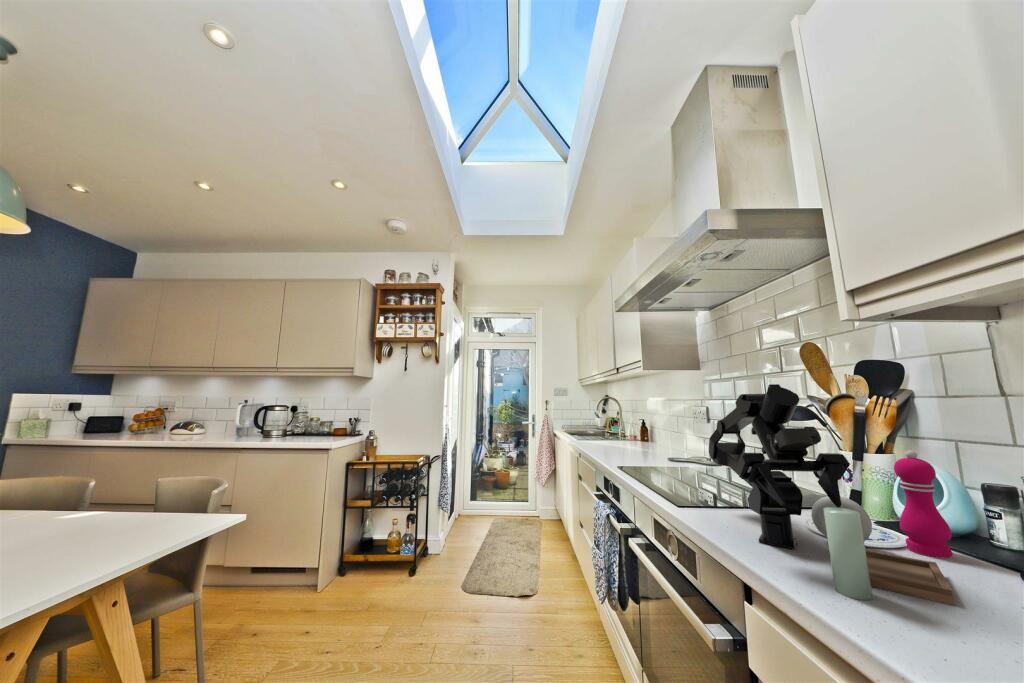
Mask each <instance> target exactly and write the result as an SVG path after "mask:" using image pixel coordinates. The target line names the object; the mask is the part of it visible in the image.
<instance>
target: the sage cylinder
mask: <svg viewBox="0 0 1024 683" xmlns="http://www.w3.org/2000/svg"><path fill="white" fill-rule="evenodd" d="M823 509H824V516H825V524H826V531H827V538H826V539H827V543H828V551H829V557H830V558H829V560H830V563H831V572H832V579H833V586H834V587H833V588H834V590H835V591H836V593H838V594H840V595H842V596H845V597H848V598H850V599H855V600H859V601H860V600H861V601H870V600H873V599H874V596H873V590H872V587H871V582H870V576H869V570H868V563H867V557H866V550H867V549H866V545H865V541H864V538H863V531H862V525H861V518H860V513H859V512H857V511H854V510H850V509H845V508H836V507H826V508H823Z"/></svg>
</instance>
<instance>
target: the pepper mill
mask: <svg viewBox="0 0 1024 683" xmlns="http://www.w3.org/2000/svg"><path fill="white" fill-rule="evenodd" d="M904 455H905V457H902V458H900V459H898V460H896V461H895V463H894V465H893V470H894V473H895V474H896V476H897V477H899V479H900V480H899V484H900V485H899V486H900V488H901V489H903V493H904V495H905V503H904V504H905V505H904V508H903V510H902V512H901V514H900V518H899V528H900V530H901V531H902V533H903V534H905V535H906V536H907V538H905V545H906V544H907V546H906V548H907V550H908V551H910V552H913V553H914V554H915V553H916V554H918V555H923V556H926V557H932V558H937V559H950V558H952V557H953V553H952V547H951V546H950V545H948V544H947V542H949V541H950V540H951V539H952V537H953V534H952V531H951V530H952V529H951V528H950V526H949V524H948V522H947V521H946V519H945V518H944V517H943V516H942V514H941V513H940V511H939V510H938V509H937V506H936V504H935V500H934V494H933V492H936V489H935V484H934V483H932V482H933V481H934V480H935V479H936V476H937V474H936V470H935V468H934V467H933V465H932V464H931V463H929V462H928V461H926V460H923V459H920V458H918V453H917V452H916V451H914V450H912V449H909V450H906V451H905V453H904Z"/></svg>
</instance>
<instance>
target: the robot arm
mask: <svg viewBox="0 0 1024 683" xmlns="http://www.w3.org/2000/svg"><path fill="white" fill-rule="evenodd" d="M799 402H800V397H799V395H798V394H797V393H795V392H793V391H792V390H791V389H788V388H785V387H782V386H781V385H780V384H779V383H777V384H776V383H775V384H773V383H771V384H768V386H767V390H766V392H765V393H741V394H740V395H739V396H738V397H737V399H736V400H735V401H734V403H735V405H736V406H735V408H733V410H732V411H730V412H729V413H728V414H727V415H726V416H724V417H723V418H722V419H718V420H717V422H716V429H715V430H714V432H713V433H712V434H711V435H710V437H709V441H708V442H709V444H708V454H709V458H710V459H711V460H712V461H713V462H714V464H716V465H718V466H723V467H728V468H729V469H731V470H732V471H734V473H735V474H736V475H738V477H739V478H740V479H741V480H743V481H744V482H746V483H747V484H748V485H749V486H750V487H751V490H750V493H749V495H748V497H747V504H748V508H749V510H751V511H752V512H754V513H756V514H757V515H759V517H760V518H759V519H760V527H761V529H760V530H761V534H760V536H759V538H758V542H759V543H762V544H767V545H772V546H776V547H777V546H778V547H781V548H782V547H783V548H787V549H793V550H794V549H796V547H797V543H798V538H796V537H794V532H793V525H792V524H793V523H792V517H791V516H802V508H803V497H804V496H803V493H802V491H801V489H800V487H798V485H797V484H796V483H795V482H794V481H793V477H791V476H790V477H789V476H788V475H787V474H785V473H784V472H805V473H806V472H810V473H811V472H813V475H814V476H815V478H817V483H818V485H819V486H820V487H821V489H822V490H823V492H824V493H825V494H826V496H828V497H829V498H830V500H831V501H832V502H833V503H834V504H835V506H836V507H840V506H841V498H840V496H841V492H840V486H839V480H840V481H841V480H842V478H843V476H844V475H845V473H846V471H847V470H848V468H849V467H850V465H851V463H850V462H849V460H848V459H847V457H846V456H845V455H844V454H842V453H838V452H836V453H833V452H830V453H829V452H826V453H825V452H824V453H821V452H819V454H818V455H817V456H816V459H815V460H805V459H804V457H807V456H808V454H809V452H808V450H807V449H808V448H810V447H813V446H815V445H818V443H821V441H822V437H821V435H820V432H819V431H818V430H817V428H816V427H815V426H804V427H799V428H798V427H797V428H796V427H791V428H790V427H785V424H787V423H789V422H791V419H792V417H793V415H794V413H795V410H796V409H797V407H798V405H799ZM750 424H751V426H752V427H751V435H753V436H755V435H756V436H757V438H758V440H759V442H760V444H761V445H762V448H761V452H746V443H745V442H744V440H743V438H742V436H741V430H743V429H745V428H746V427H748V426H749V425H750ZM724 435H736V438H737V442H719V441H721V439H722V438H723V437H724ZM765 455H767V458H768V459H767V458H766V457H765Z"/></svg>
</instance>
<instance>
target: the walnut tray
mask: <svg viewBox="0 0 1024 683" xmlns="http://www.w3.org/2000/svg"><path fill="white" fill-rule="evenodd" d="M865 550H866V557H867V563H868V570H869V576H870V582H871V588H875V589H880V590H885V591H890V592H895V593H899V594H903V595H908V596H910V597H917V598H921V599H926V600H929V601H936V602H939V603H944V604H949V605H953V606H955V599H954V595H953V590H952V588H951V586H950V584H949V583H948V581H947V579H946V577H945V576H944V574H943V573H942V571H941V569H940V567H939V565H938V564H937V562H934V561H930V560H923V559H917V558H912V557H907V556H901V555H895V554H889V553H884V552H878V551H873V550H867V549H865Z"/></svg>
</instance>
